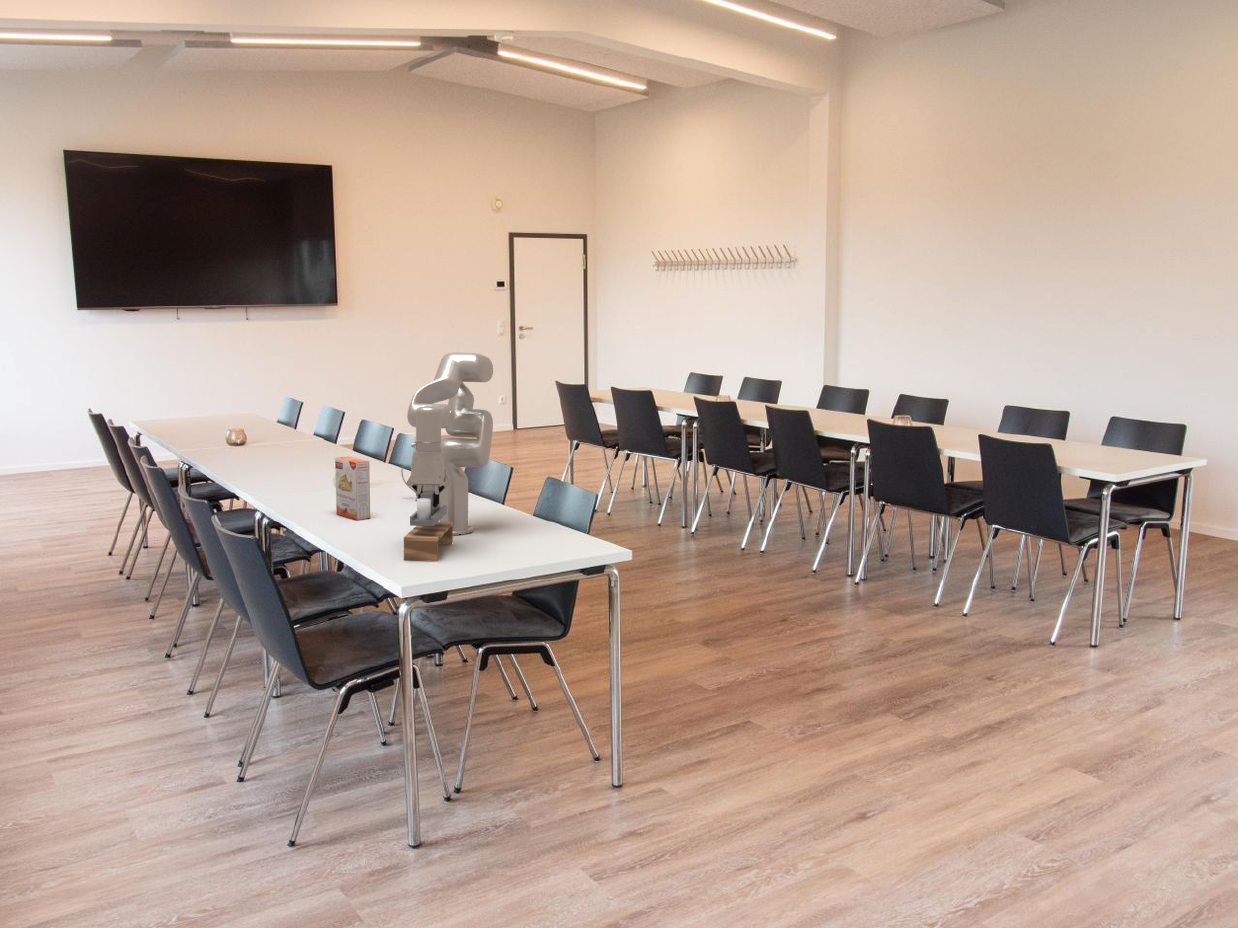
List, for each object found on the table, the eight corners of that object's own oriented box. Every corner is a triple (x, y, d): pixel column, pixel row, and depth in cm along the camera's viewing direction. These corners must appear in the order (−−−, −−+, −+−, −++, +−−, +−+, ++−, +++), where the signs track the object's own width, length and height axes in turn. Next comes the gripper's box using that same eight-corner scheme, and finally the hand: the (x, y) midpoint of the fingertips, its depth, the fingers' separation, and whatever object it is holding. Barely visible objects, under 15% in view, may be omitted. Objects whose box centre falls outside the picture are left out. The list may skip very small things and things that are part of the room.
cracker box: (335, 514, 381) (334, 457, 378) (350, 512, 385) (349, 455, 382) (355, 521, 371) (354, 461, 368) (370, 518, 375) (370, 460, 372)
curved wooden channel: (421, 542, 340) (421, 521, 339) (452, 543, 339) (452, 522, 338) (403, 560, 316) (403, 537, 315) (437, 561, 315) (437, 538, 314)
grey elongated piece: (424, 513, 336) (424, 486, 335) (446, 513, 336) (446, 487, 334) (410, 525, 316) (409, 497, 315) (433, 526, 316) (433, 498, 315)
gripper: (398, 447, 319) (399, 507, 322) (453, 449, 319) (453, 509, 321) (404, 444, 327) (404, 503, 329) (458, 446, 326) (457, 505, 329)
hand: (428, 505), depth 325 cm, fingers closed on grey elongated piece, 3 cm apart
